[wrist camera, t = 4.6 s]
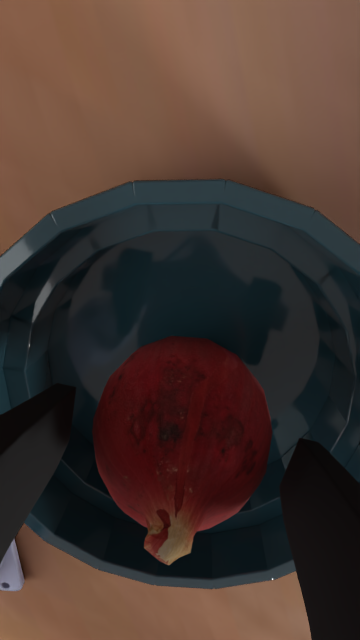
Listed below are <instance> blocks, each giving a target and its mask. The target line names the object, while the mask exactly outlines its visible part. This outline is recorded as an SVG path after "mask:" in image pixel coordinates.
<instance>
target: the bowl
mask: <svg viewBox="0 0 360 640" xmlns="http://www.w3.org/2000/svg"><path fill="white" fill-rule="evenodd" d="M169 336H181V337H194V338H207V339H209V340H211V341H212V342H214V343H216V344H218V345H220V346H222V347H223V348H225V349H227V350H229V351H231V352H232V353H234V354H236V355H237V356H238V357H239V358H240V359H241V361H242V362H243V363H244V364H245V365H246V367H247V368H248V369H249V370H250V372H251V373H252V374H253V375H254V377H255V378H256V379H257V381H258V382H259V384H260V385H261V387H262V388H263V390H264V393H265V397H266V401H267V405H268V410H269V414H270V418H271V426H272V438H271V444H270V450H269V456H268V462H267V469H266V473H265V475H264V477H263V479H262V481H261V483H260V485H259V486H258V487H257V489H256V490H255V491H254V493H253V494H252V495H251V497H250V498H249V499H248V501H247V502H246V503H245V505H244V506H243V507H242V508H241V509H240V510H239V511H238V513H236V514H235V515H233V516H231V517H230V518H228V519H226V520H225V521H223V522H221V523H219V524H217V525H215V526H213V527H211V528H209V529H205V530H201V531H197V532H196V533H195V535H194V537H193V542H192V548H191V553H189V554H187V555H184V556H182V557H180V558H178V559H177V560H175V561H174V562H173V563H171V564H170V565H167V564H164V563H162V562H160V561H159V560H157V559H156V558H155V557H154V556H153V555H151V554H150V553H149V552H148V551H147V550H146V549H145V548H144V542H145V538H146V536H147V534H148V528H147V527H145V526H143V525H141V524H140V523H139V522H137V521H136V520H134V519H133V518H131V517H130V516H129V515H127V514H126V513H124V512H123V511H122V510H121V509H120V508H119V507H118V505H117V504H116V502H115V501H114V500H113V498H112V496H111V494H110V493H109V491H108V489H107V487H106V485H105V484H104V482H103V480H102V478H101V476H100V474H99V471H98V467H97V463H96V457H95V450H94V442H93V434H92V429H93V419H94V415H95V412H96V410H97V407H98V404H99V401H100V399H101V396H102V393H103V390H104V388H105V386H106V384H107V381H108V379H109V377H110V376H111V375H112V374H113V373H114V372H115V371H116V370H117V369H118V368H119V367H120V366H121V365H122V364H123V363H124V362H125V361H126V360H127V359H128V358H129V357H130V356H131V355H132V354H133V353H134V352H135V351H136V350H137V349H138V348H140V347H141V346H144V345H147V344H150V343H153V342H155V341H158V340H161V339H164V338H166V337H169ZM56 383H60V384H65V385H69V386H73V387H76V394H75V402H74V410H73V417H72V425H71V433H70V440H69V442H68V444H67V447H66V449H65V451H64V453H63V456H62V458H61V460H60V462H59V464H58V466H57V468H56V470H55V472H54V474H53V475H52V477H51V479H50V480H49V482H48V484H47V485H46V487H45V489H44V490H43V492H42V494H41V495H40V497H39V498H38V500H37V502H36V503H35V505H34V507H33V508H32V510H31V512H30V513H29V515H28V517H27V518H26V520H25V521H24V523H25V524H26V525H27V526H28V527H29V528H31V529H32V530H33V531H34V532H35V533H36V534H37V535H38V536H39V537H41V538H42V539H43V540H44V541H46V542H47V543H49V544H51V545H53V546H54V547H56V548H58V549H60V550H62V551H64V552H66V553H67V554H69V555H71V556H73V557H75V558H77V559H79V560H80V561H82V562H84V563H86V564H88V565H90V566H91V567H93V568H95V569H98V570H101V571H104V572H108V573H111V574H115V575H118V576H122V577H125V578H129V579H132V580H136V581H140V582H143V583H147V584H150V585H156V586H169V587H186V588H202V589H219V588H225V587H232V586H238V585H244V584H251V583H257V582H263V581H270V580H275V579H278V578H280V577H283V576H285V575H287V574H290V573H292V572H295V571H296V568H295V564H294V560H293V557H292V553H291V549H290V545H289V541H288V537H287V533H286V529H285V525H284V521H283V514H282V507H281V499H280V490H279V486H280V483H281V481H282V478H283V476H284V474H285V471H286V469H287V466H288V464H289V462H290V459H291V457H292V454H293V452H294V450H295V447H296V445H297V442H298V440H299V438H303V439H308V440H312V441H317V442H319V443H320V444H321V445H322V446H323V447H324V448H326V449H327V450H328V451H329V452H330V453H331V454H332V455H333V456H334V457H335V459H336V460H337V461H338V462H339V463H340V464H341V465H342V466H343V467H344V468H345V469H346V470H347V471H348V472H349V473H350V474H351V475H352V476H353V477H354V478H355V479H356V480H357V481H358V482H359V483H360V244H359V243H358V242H356V241H355V240H354V239H353V238H351V237H350V236H349V235H348V234H346V233H345V232H344V231H343V230H341V229H340V228H339V227H338V226H336V225H335V224H334V223H333V222H331V221H330V220H329V219H328V218H326V217H325V216H324V215H323V214H321V213H320V212H319V211H318V210H315V209H314V208H312V207H309V206H306V205H303V204H300V203H297V202H294V201H291V200H288V199H285V198H282V197H279V196H276V195H273V194H270V193H267V192H264V191H261V190H258V189H255V188H252V187H249V186H246V185H243V184H240V183H237V182H234V181H231V180H225V179H191V180H136V181H133V182H127V183H124V184H122V185H119V186H117V187H114V188H111V189H109V190H106V191H103V192H101V193H98V194H96V195H93V196H90V197H88V198H85V199H82V200H80V201H77V202H75V203H72V204H69V205H67V206H64V207H61V208H59V209H56V210H54V211H52V212H51V213H49V214H47V215H46V216H45V217H44V218H42V219H41V220H40V221H39V222H38V223H37V224H36V225H35V226H33V227H32V228H31V229H30V230H29V231H28V232H27V233H26V234H24V235H23V236H22V237H21V238H20V239H19V240H18V241H17V242H16V243H14V244H13V245H12V246H11V247H10V248H9V249H8V250H7V251H5V252H4V253H3V254H2V255H1V256H0V415H1V414H3V413H5V412H7V411H9V410H10V409H12V408H14V407H16V406H18V405H20V404H21V403H23V402H25V401H27V400H28V399H30V398H32V397H34V396H35V395H37V394H39V393H40V392H42V391H44V390H46V389H47V388H49V387H51V386H53V385H55V384H56Z"/></svg>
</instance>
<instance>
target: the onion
mask: <svg viewBox="0 0 360 640" xmlns="http://www.w3.org/2000/svg"><path fill="white" fill-rule="evenodd" d="M92 434H93V442H94V450H95V457H96V463H97V467H98V471H99V474H100V476H101V478H102V480H103V482H104V484H105V485H106V487H107V489H108V491H109V493H110V494H111V496H112V498H113V500H114V501H115V502H116V504H117V505H118V507H119V508H120V509H121V510H122V511H123V512H124V513H126V514H127V515H129V516H130V517H131V518H133V519H134V520H136V521H137V522H139V523H140V524H141V525H143V526H145V527H147V528H148V534H147V536H146V538H145V542H144V548H145V549H146V550H147V551H148V552H149V553H150V554H151V555H153V556H154V557H155V558H156V559H157V560H159V561H160V562H162V563H164V564H167V565H170V564H171V563H173V562H174V561H175V560H177V559H178V558H180V557H182V556H184V555H187V554H189V553H191V548H192V542H193V537H194V535H195V533H196V532H197V531H201V530H205V529H209V528H211V527H213V526H215V525H217V524H219V523H221V522H223V521H225V520H226V519H228V518H230V517H231V516H233V515H235V514H236V513H238V511H239V510H240V509H241V508H242V507H243V506H244V505H245V503H246V502H247V501H248V499H249V498H250V497H251V495H252V494H253V493H254V491H255V490H256V489H257V487H258V486H259V485H260V483H261V481H262V479H263V477H264V475H265V473H266V469H267V462H268V456H269V450H270V444H271V438H272V426H271V418H270V414H269V410H268V405H267V401H266V397H265V393H264V390H263V388H262V387H261V385H260V384H259V382H258V381H257V379H256V378H255V377H254V375H253V374H252V373H251V372H250V370H249V369H248V368H247V367H246V365H245V364H244V363H243V362H242V361H241V359H240V358H239V357H238V356H237V355H236V354H234V353H232V352H231V351H229V350H227V349H225V348H223V347H222V346H220V345H218V344H216V343H214V342H212V341H211V340H209V339H207V338H194V337H181V336H169V337H166V338H164V339H161V340H158V341H155V342H153V343H150V344H147V345H144V346H141V347H140V348H138V349H137V350H136V351H135V352H134V353H133V354H132V355H131V356H130V357H129V358H128V359H127V360H126V361H125V362H124V363H123V364H122V365H121V366H120V367H119V368H118V369H117V370H116V371H115V372H114V373H113V374H112V375H111V376H110V377H109V379H108V381H107V384H106V386H105V388H104V390H103V393H102V396H101V399H100V401H99V404H98V407H97V410H96V412H95V415H94V419H93V429H92Z"/></svg>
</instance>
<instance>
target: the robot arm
mask: <svg viewBox="0 0 360 640" xmlns="http://www.w3.org/2000/svg"><path fill="white" fill-rule="evenodd" d="M75 394H76V387H73V386H69V385H65V384H60V383H56V384H55V385H53V386H51V387H49V388H47V389H46V390H44V391H42V392H40V393H39V394H37V395H35V396H34V397H32V398H30V399H28V400H27V401H25V402H23V403H21V404H20V405H18V406H16V407H14V408H12V409H10V410H9V411H7V412H5V413H3V414H1V415H0V590H6V591H18V590H21V588H22V586H23V584H24V576H23V572H22V568H21V564H20V560H19V555H18V551H17V547H16V543H15V539H14V538H15V536H16V535H17V533H18V531H19V530H20V528H21V526H22V525H23V523H24V521H25V520H26V518H27V517H28V515H29V513H30V512H31V510H32V508H33V507H34V505H35V503H36V502H37V500H38V498H39V497H40V495H41V494H42V492H43V490H44V489H45V487H46V485H47V484H48V482H49V480H50V479H51V477H52V475H53V474H54V472H55V470H56V468H57V466H58V464H59V462H60V460H61V458H62V456H63V453H64V451H65V449H66V447H67V444H68V442H69V440H70V433H71V425H72V417H73V410H74V402H75ZM279 490H280V499H281V507H282V514H283V521H284V525H285V529H286V533H287V537H288V541H289V545H290V549H291V553H292V557H293V560H294V564H295V568H296V572H297V576H298V580H299V583H300V587H301V591H302V595H303V599H304V603H305V607H306V612H307V616H308V621H309V626H310V632H311V638H312V640H360V483H359V482H358V481H357V480H356V479H355V478H354V477H353V476H352V475H351V474H350V473H349V472H348V471H347V470H346V469H345V468H344V467H343V466H342V465H341V464H340V463H339V462H338V461H337V460H336V459H335V457H334V456H333V455H332V454H331V453H330V452H329V451H328V450H327V449H326V448H324V447H323V446H322V445H321V444H320V443H319V442H317V441H312V440H308V439H303V438H299V440H298V442H297V445H296V447H295V450H294V452H293V454H292V457H291V459H290V462H289V464H288V466H287V469H286V471H285V474H284V476H283V478H282V481H281V483H280V486H279Z"/></svg>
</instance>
